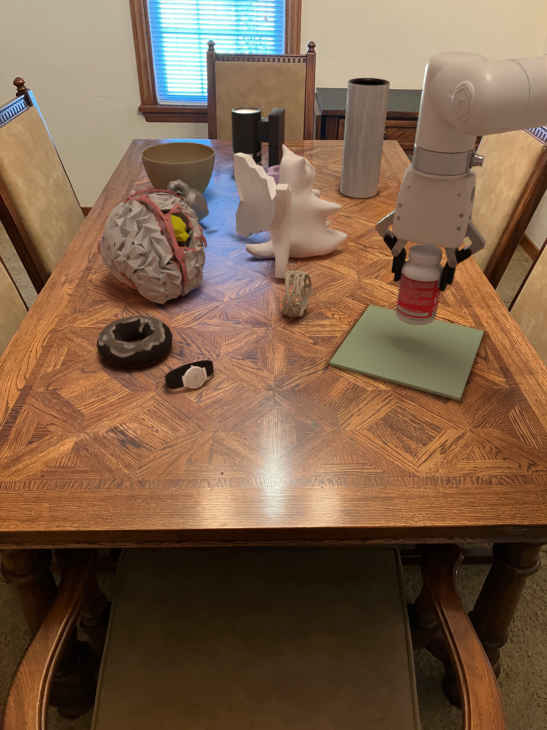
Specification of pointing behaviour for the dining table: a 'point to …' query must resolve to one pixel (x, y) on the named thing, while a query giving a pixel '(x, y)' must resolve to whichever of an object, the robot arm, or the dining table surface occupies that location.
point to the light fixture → (258, 133)
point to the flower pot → (179, 164)
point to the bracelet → (302, 304)
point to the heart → (190, 198)
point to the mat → (410, 352)
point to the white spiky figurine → (284, 210)
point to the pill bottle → (420, 285)
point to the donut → (136, 353)
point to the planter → (363, 136)
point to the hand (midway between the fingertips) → (420, 281)
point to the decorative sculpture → (154, 245)
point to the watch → (189, 375)
